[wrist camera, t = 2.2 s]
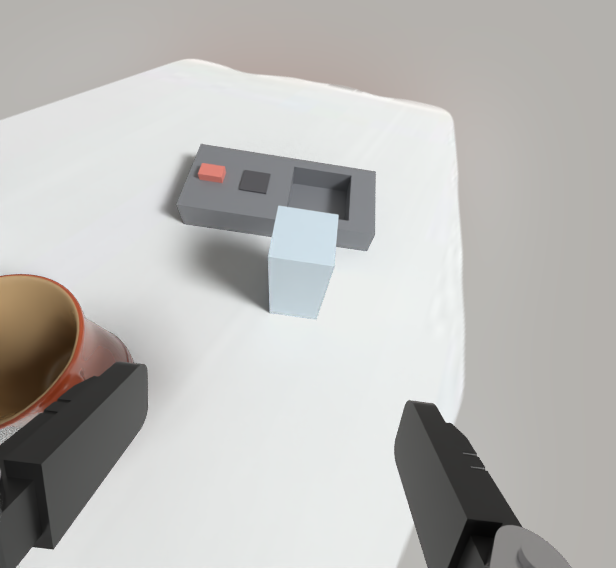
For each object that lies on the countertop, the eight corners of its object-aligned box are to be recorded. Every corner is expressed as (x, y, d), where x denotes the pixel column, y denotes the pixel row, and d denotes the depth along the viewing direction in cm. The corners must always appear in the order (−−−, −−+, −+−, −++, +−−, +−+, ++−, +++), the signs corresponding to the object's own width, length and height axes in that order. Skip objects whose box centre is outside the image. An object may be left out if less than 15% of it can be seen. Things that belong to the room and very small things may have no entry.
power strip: (183, 223, 33) (173, 198, 30) (206, 165, 37) (199, 137, 34) (367, 250, 34) (377, 229, 30) (368, 190, 38) (377, 166, 35)
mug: (4, 400, 24) (-162, 374, 15) (95, 312, 28) (8, 249, 19) (121, 493, 22) (13, 529, 13) (202, 385, 26) (162, 353, 17)
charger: (269, 312, 29) (267, 256, 20) (277, 271, 31) (278, 203, 23) (316, 319, 29) (334, 266, 21) (320, 277, 32) (338, 213, 23)
